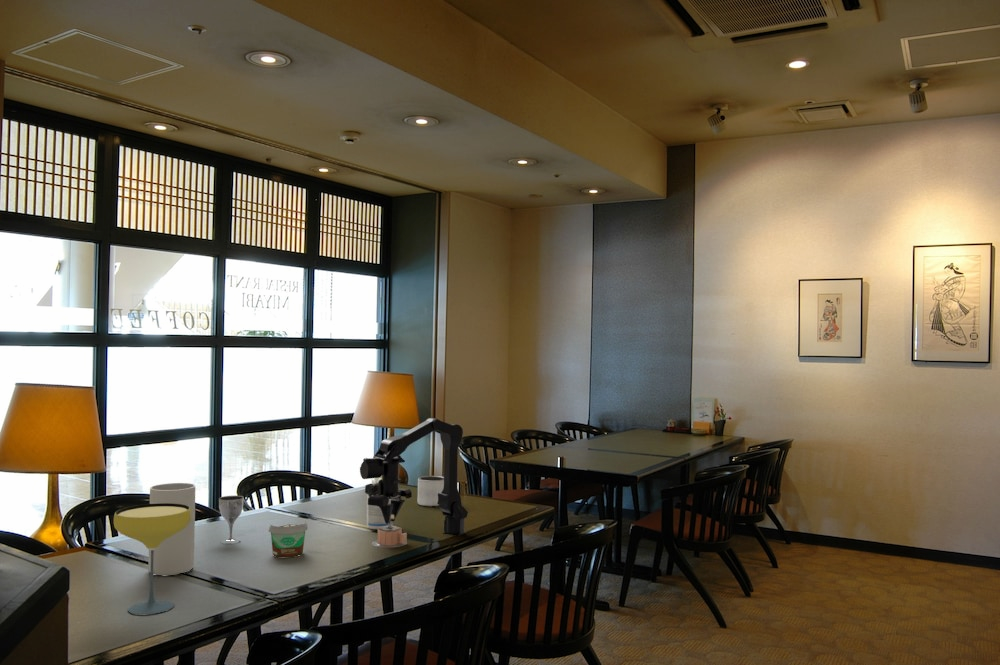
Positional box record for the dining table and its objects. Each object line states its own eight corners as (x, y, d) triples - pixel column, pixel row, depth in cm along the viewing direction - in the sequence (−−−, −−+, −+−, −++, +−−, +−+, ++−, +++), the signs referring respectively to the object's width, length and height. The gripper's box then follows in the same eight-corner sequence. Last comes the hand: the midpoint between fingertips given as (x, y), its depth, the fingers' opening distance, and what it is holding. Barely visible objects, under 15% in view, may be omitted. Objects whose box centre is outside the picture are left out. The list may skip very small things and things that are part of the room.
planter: (445, 507, 329) (445, 480, 329) (415, 507, 329) (416, 480, 329) (447, 501, 341) (448, 475, 342) (419, 501, 342) (419, 475, 342)
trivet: (413, 542, 269) (413, 541, 269) (394, 551, 258) (394, 549, 258) (384, 538, 274) (384, 537, 274) (364, 546, 263) (364, 544, 263)
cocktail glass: (119, 625, 187) (121, 521, 188) (105, 605, 202) (107, 507, 202) (197, 611, 198) (199, 512, 198) (179, 592, 213) (181, 500, 213)
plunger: (400, 536, 268) (400, 513, 268) (391, 539, 263) (392, 516, 263) (387, 534, 270) (387, 512, 270) (378, 538, 265) (379, 515, 265)
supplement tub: (396, 529, 289) (397, 489, 290) (373, 532, 284) (373, 491, 284) (385, 523, 297) (386, 485, 298) (362, 526, 292) (362, 487, 292)
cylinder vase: (165, 579, 224) (167, 492, 225) (139, 572, 231) (141, 487, 231) (202, 569, 235) (204, 485, 235) (176, 562, 242) (178, 481, 242)
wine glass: (247, 540, 270) (248, 496, 270) (231, 545, 263) (231, 500, 263) (230, 537, 273) (231, 494, 273) (213, 542, 266) (213, 498, 266)
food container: (272, 560, 245) (272, 528, 245) (268, 556, 250) (268, 524, 251) (311, 556, 251) (311, 525, 251) (306, 551, 256) (307, 521, 256)
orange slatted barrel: (410, 542, 267) (411, 527, 267) (397, 547, 260) (398, 532, 260) (386, 539, 272) (386, 524, 272) (372, 544, 264) (373, 529, 264)
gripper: (385, 470, 279) (385, 514, 278) (354, 478, 262) (353, 525, 261) (412, 473, 274) (412, 518, 273) (382, 481, 257) (381, 529, 257)
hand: (389, 522), depth 266 cm, fingers closed on plunger, 3 cm apart
